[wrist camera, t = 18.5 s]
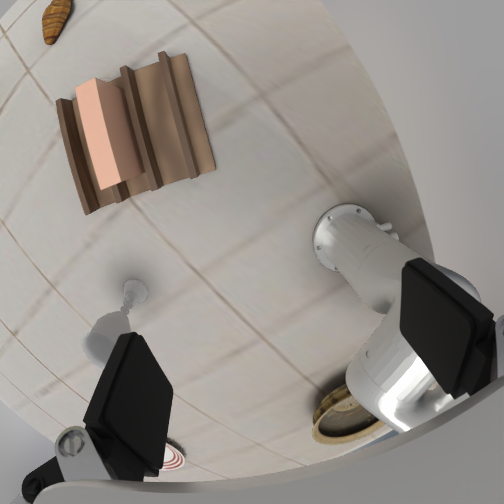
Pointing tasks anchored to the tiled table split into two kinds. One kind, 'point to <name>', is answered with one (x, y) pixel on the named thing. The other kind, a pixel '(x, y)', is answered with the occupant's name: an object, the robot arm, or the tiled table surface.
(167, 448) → the dinner plate
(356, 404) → the ceramic bowl
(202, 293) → the tiled table surface
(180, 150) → the slot rack
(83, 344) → the chalice
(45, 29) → the croissant
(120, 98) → the pink rectangular block
